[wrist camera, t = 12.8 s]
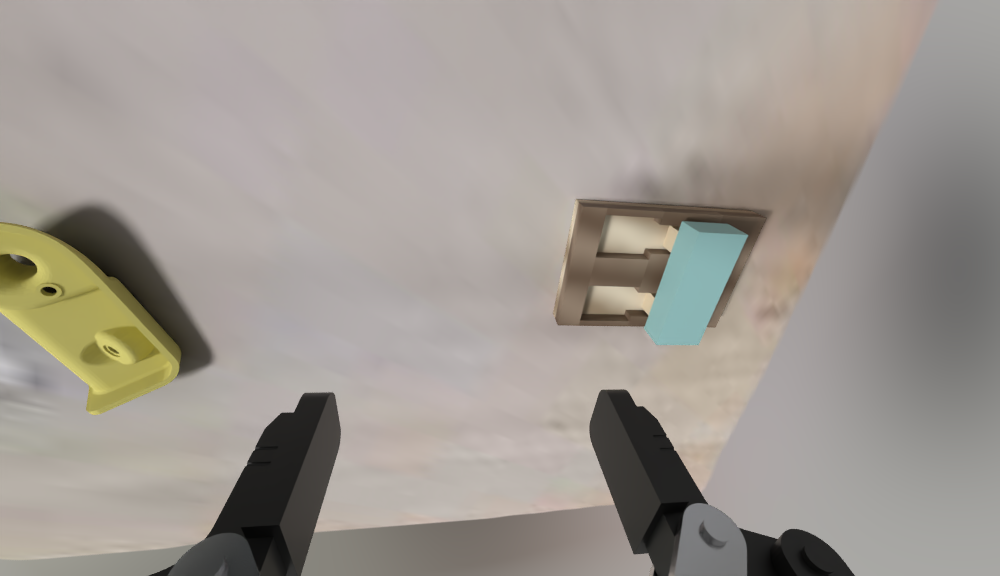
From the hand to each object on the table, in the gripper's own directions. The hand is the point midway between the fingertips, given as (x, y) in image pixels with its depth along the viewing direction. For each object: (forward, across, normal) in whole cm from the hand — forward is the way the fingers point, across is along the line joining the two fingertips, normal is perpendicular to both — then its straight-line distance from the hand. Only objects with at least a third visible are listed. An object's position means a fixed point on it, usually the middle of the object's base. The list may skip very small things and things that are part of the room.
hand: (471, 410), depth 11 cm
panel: (+27, -24, +8) cm, 37 cm away
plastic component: (+28, +36, +15) cm, 48 cm away
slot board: (+28, -22, +8) cm, 37 cm away
